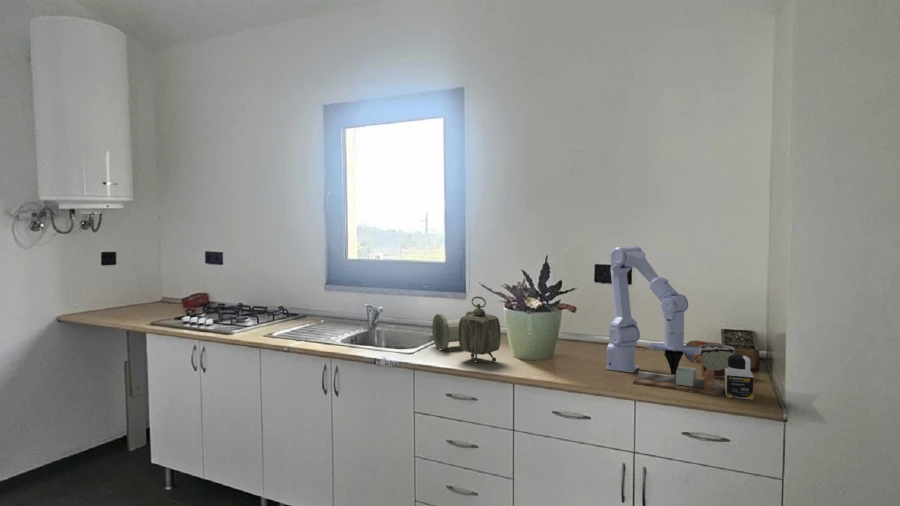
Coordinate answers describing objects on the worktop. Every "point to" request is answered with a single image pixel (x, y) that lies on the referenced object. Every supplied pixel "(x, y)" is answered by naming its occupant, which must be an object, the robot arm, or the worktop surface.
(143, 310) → the worktop surface
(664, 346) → the robot arm
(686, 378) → the pale green block
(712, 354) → the food container
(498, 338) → the tabletop clock
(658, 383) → the rail board
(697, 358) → the tin
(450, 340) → the spool
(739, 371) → the medicine bottle
